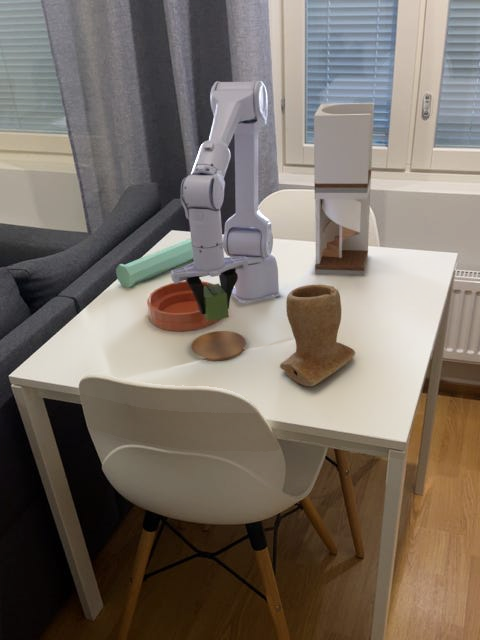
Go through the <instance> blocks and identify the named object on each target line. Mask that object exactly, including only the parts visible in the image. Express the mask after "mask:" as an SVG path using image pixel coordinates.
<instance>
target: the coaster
mask: <svg viewBox="0 0 480 640" xmlns="http://www.w3.org/2000/svg"><path fill="white" fill-rule="evenodd" d="M190 345H191V347H190V348H191V351H192V352H193V353H194V354H195V355H196V356H199V357H201V358H202V360H204V361H210V362H222V361H227V360H230V359H233V358H237V357H238V356H239V355H241V354H242V353H244V352H245V349H246V345H247V341H246V339H245V338H244V336H243V335H241V334H239V333H238V332H234V331H228V330H217V331H211V332H206V333H203V334H201V335H199V336H197V337H196V338H195V339H194V340H193V341H192V343H191V344H190Z"/></svg>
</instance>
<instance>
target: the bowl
mask: <svg viewBox="0 0 480 640" xmlns="http://www.w3.org/2000/svg"><path fill="white" fill-rule="evenodd" d="M201 283H202V284H203V285H204V286H207V284H211V285H214V284H215V283H212V282H209V281H203V280H201ZM146 305H147V310H148V316H149V320H150V322H151V324H152V325H153V326H155V327H157V328H160V329H162V330H165V331H171V332H189V331H196V330H200V329H204V328H207V327H210V326H212V325H213V324H215V323H217V322H218V321H220V319H218V320H213V321H209V322H208V321H207V319H206V318H205V316H204V315H203V314H201V312H200V311H199V307H198V304H197V301H196V298H195V296H194V294H193V292H192V290H191V288H190V287H189V285H188V283H187V282H186V280H184V281H180V283H177V284H174V282H170V283H168V284H164V285H162V286H160V287H158V288H156V289H154V290H153V291H152V292H151V293H149V295H148V297H147V299H146Z"/></svg>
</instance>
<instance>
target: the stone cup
mask: <svg viewBox="0 0 480 640" xmlns="http://www.w3.org/2000/svg"><path fill="white" fill-rule="evenodd" d="M285 303H286V309H285V310H286V317H287V320H288V322H289V325H290V329H291V332H292V335H293V337H294V341H295V352H294V353H292V354H291V355H290V356H289V357H288V358H286V359H285V360H284V361H282V362H281V363H280V364H279V367H280V368H281V370H282V371H283V372H285V374H286V375H287V376H288V377H289V378H290V379H291V380H293V381H294V382H296V383H298V384H300V385H302V386H305V387H313V386H316V385H318V384H319V383H321V382H322V381H323V380H325V379H327V378H328V377H329V376H331V375H333V374H334V373H335V372H337V371H338V370H340V369H341V368H342V367H344V366H345V365H346V364H348V362H349V361H351V360H352V359H353V358H354V356H355V355H356V351H355V350H354V349H353V348H351V347H350V346H348V345H345V344H344V343H341V342H338V341H337V339H338V333H339V328H340V326H341V321H342V300H341V295H340V291H339V290H338V289H337V288H336V287H334V286H332V285H326V284H307V285H303V286H302V285H301V286H298V287H296V288H294V289H292V290H291V291H290V292H288V294H287V297H286V302H285Z"/></svg>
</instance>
